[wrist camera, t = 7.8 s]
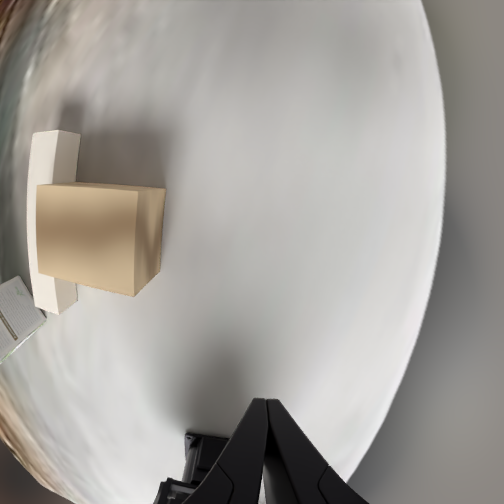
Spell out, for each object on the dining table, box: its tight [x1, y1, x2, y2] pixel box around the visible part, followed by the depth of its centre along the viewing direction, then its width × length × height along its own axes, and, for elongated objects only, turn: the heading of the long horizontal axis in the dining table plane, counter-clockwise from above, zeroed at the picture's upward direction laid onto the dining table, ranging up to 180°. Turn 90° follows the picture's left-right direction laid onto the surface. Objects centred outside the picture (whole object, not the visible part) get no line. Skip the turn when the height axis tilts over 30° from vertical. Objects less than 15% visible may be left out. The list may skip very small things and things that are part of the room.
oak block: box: [36, 182, 166, 297], centre depth 16 cm, size 6×8×5 cm
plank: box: [27, 130, 81, 315], centre depth 17 cm, size 14×3×3 cm, turn 172°
